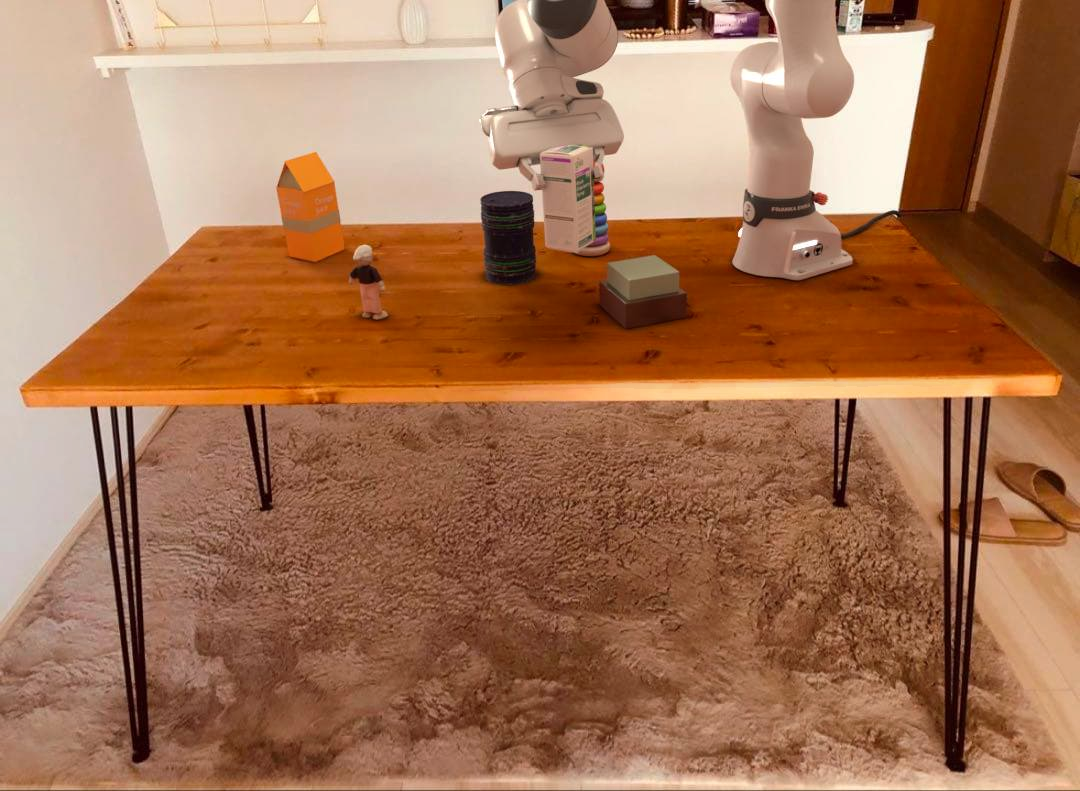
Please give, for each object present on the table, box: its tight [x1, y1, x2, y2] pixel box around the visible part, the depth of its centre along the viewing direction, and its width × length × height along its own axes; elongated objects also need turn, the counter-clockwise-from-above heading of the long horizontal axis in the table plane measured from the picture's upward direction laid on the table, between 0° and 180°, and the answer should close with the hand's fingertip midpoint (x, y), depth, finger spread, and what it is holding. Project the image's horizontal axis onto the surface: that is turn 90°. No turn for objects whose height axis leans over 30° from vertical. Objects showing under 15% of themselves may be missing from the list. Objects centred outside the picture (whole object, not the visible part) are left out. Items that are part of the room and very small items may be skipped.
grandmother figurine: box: [348, 244, 389, 320], centre depth 144 cm, size 8×4×13 cm, turn 71°
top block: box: [606, 254, 680, 300], centre depth 142 cm, size 9×9×4 cm
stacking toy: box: [575, 162, 611, 257], centre depth 168 cm, size 8×8×19 cm
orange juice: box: [275, 151, 345, 263], centre depth 173 cm, size 8×9×20 cm
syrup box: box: [539, 144, 596, 254], centre depth 125 cm, size 6×6×14 cm
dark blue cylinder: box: [480, 190, 537, 285], centre depth 158 cm, size 10×10×15 cm
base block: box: [598, 279, 688, 330], centre depth 143 cm, size 11×11×4 cm
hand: (569, 183), depth 123 cm, fingers closed on syrup box, 8 cm apart
